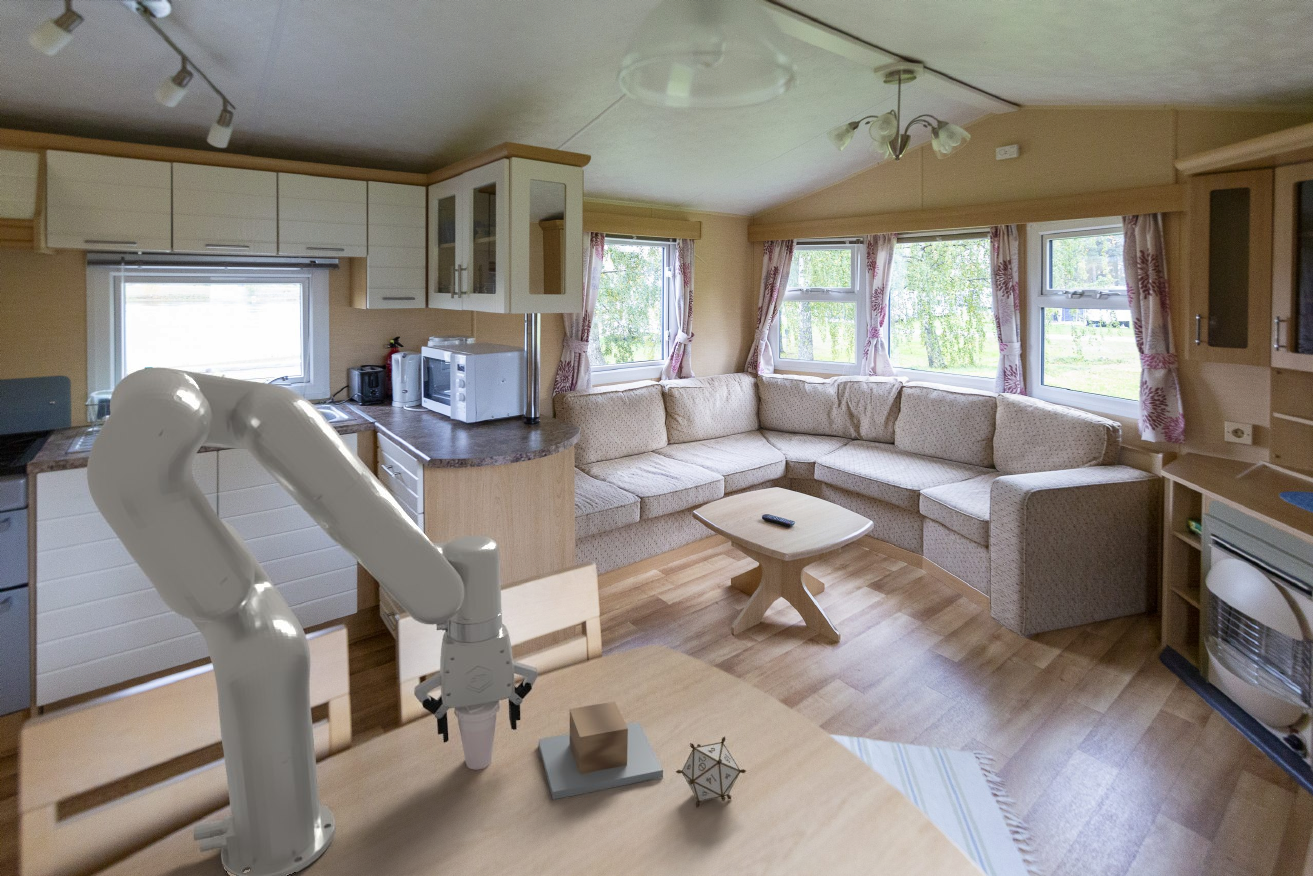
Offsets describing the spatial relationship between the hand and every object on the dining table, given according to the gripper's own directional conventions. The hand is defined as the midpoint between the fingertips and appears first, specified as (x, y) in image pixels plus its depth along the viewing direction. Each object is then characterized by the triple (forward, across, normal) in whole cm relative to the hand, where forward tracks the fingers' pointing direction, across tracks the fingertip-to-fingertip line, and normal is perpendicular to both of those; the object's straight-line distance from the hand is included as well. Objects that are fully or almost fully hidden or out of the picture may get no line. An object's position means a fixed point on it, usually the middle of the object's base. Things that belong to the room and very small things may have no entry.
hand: (479, 730), depth 105 cm
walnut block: (+4, +16, -5) cm, 18 cm away
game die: (+6, +30, -17) cm, 34 cm away
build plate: (+5, +17, -5) cm, 18 cm away
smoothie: (+5, 0, 0) cm, 5 cm away
